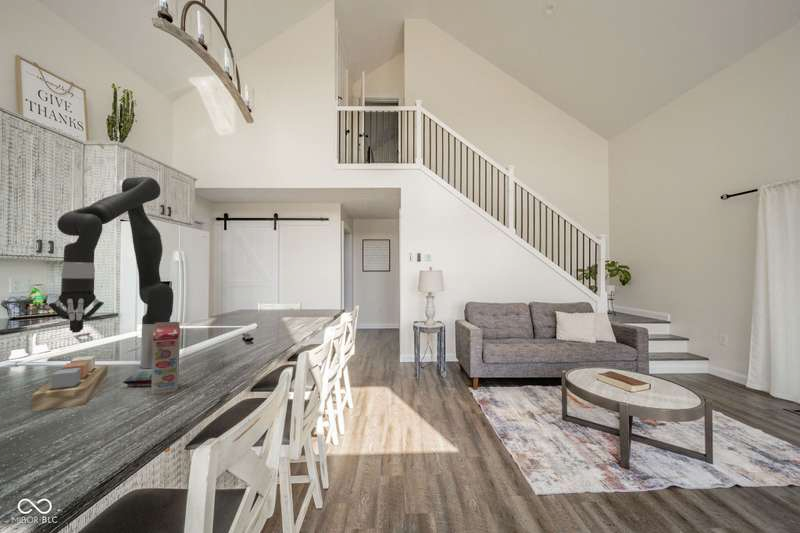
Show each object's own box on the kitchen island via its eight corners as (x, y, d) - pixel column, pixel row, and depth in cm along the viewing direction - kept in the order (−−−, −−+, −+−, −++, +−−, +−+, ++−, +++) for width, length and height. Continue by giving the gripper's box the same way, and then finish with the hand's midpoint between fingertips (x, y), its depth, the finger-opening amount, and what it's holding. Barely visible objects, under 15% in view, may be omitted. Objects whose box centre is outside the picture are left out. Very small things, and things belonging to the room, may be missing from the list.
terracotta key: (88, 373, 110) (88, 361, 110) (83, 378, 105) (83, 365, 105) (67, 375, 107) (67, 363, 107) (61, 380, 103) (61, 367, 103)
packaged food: (137, 380, 120) (137, 366, 120) (174, 379, 122) (174, 365, 122) (121, 389, 111) (121, 374, 111) (160, 388, 113) (161, 373, 113)
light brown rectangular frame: (107, 378, 120) (107, 365, 120) (85, 404, 98) (86, 388, 98) (65, 383, 115) (65, 369, 115) (31, 411, 92) (32, 394, 92)
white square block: (94, 367, 117) (95, 355, 117) (90, 371, 112) (91, 359, 112) (75, 369, 114) (75, 357, 114) (70, 373, 110) (70, 360, 110)
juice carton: (154, 387, 112) (156, 321, 113) (178, 384, 116) (180, 320, 116) (151, 394, 107) (153, 324, 107) (176, 391, 110) (178, 323, 110)
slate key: (80, 381, 103) (80, 367, 103) (75, 386, 99) (75, 372, 99) (57, 383, 100) (58, 369, 100) (51, 388, 96) (51, 374, 96)
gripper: (108, 276, 113) (106, 329, 113) (54, 276, 107) (51, 331, 106) (102, 277, 107) (100, 332, 107) (44, 276, 100) (42, 335, 100)
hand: (76, 332), depth 107 cm, fingers closed
